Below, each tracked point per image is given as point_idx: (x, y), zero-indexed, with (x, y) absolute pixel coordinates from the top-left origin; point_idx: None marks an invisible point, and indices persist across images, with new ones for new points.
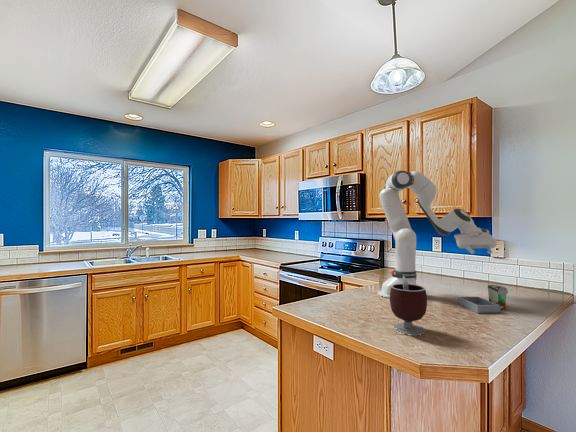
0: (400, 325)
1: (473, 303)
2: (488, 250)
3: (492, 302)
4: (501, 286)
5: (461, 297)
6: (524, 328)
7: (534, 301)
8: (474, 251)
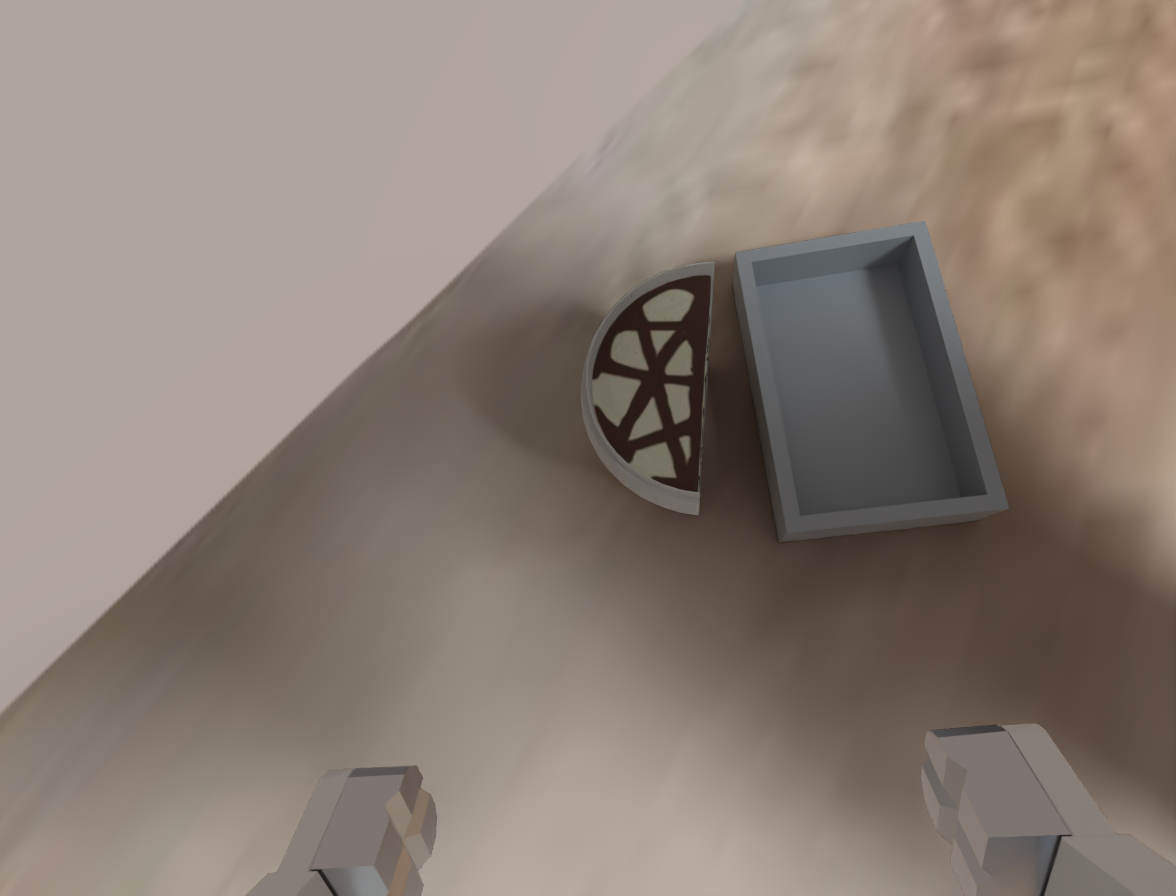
0: None
1: (934, 283)
2: (393, 854)
3: (751, 336)
4: (595, 418)
5: (974, 496)
6: (744, 37)
7: (258, 649)
8: (955, 742)
